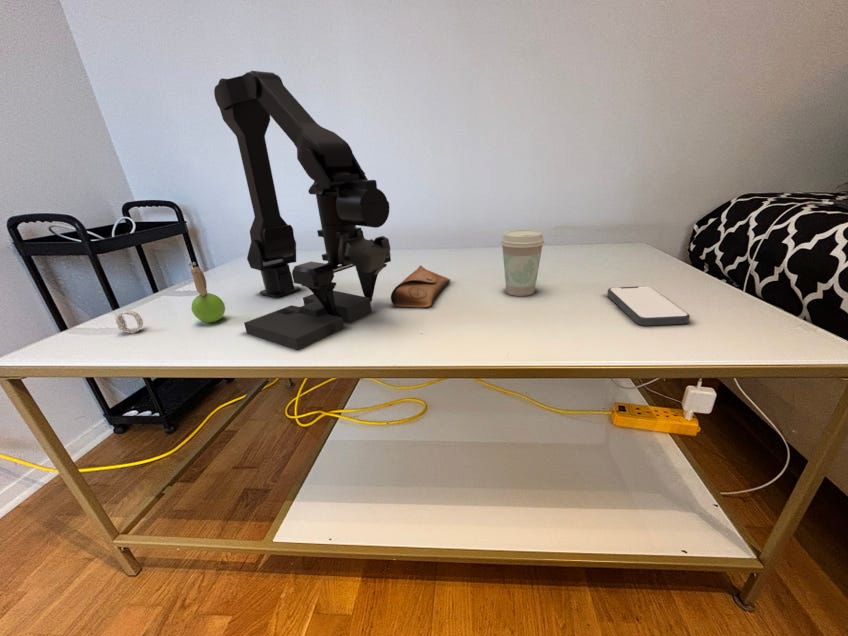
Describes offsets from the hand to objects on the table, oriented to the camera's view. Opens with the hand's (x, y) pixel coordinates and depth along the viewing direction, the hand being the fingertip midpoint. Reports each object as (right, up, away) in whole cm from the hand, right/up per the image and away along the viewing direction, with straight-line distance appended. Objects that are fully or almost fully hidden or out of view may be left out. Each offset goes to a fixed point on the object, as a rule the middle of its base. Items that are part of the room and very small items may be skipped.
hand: (352, 309), depth 77 cm
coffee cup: (+33, +5, +9) cm, 35 cm away
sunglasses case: (+13, +5, +11) cm, 17 cm away
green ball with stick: (-27, -3, +1) cm, 27 cm away
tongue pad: (-4, -1, +1) cm, 5 cm away
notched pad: (-8, -4, -4) cm, 10 cm away
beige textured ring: (-40, -5, -2) cm, 40 cm away
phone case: (+54, 0, -2) cm, 54 cm away
